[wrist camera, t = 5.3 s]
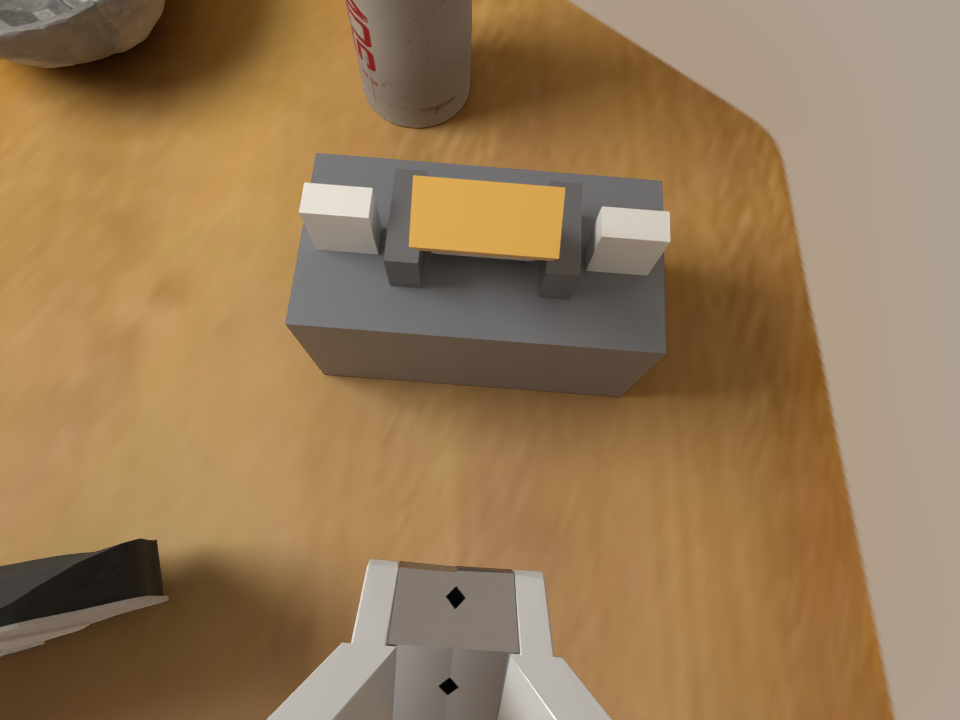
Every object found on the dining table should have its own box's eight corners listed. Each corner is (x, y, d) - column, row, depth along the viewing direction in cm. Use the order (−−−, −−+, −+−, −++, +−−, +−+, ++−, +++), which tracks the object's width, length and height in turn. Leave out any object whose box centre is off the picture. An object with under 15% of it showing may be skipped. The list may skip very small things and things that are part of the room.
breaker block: (620, 397, 39) (693, 328, 27) (324, 374, 39) (263, 294, 27) (620, 256, 42) (685, 138, 30) (345, 235, 42) (299, 106, 30)
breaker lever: (531, 266, 32) (558, 258, 21) (432, 258, 32) (408, 246, 21) (536, 219, 31) (565, 187, 21) (435, 211, 31) (413, 175, 21)
